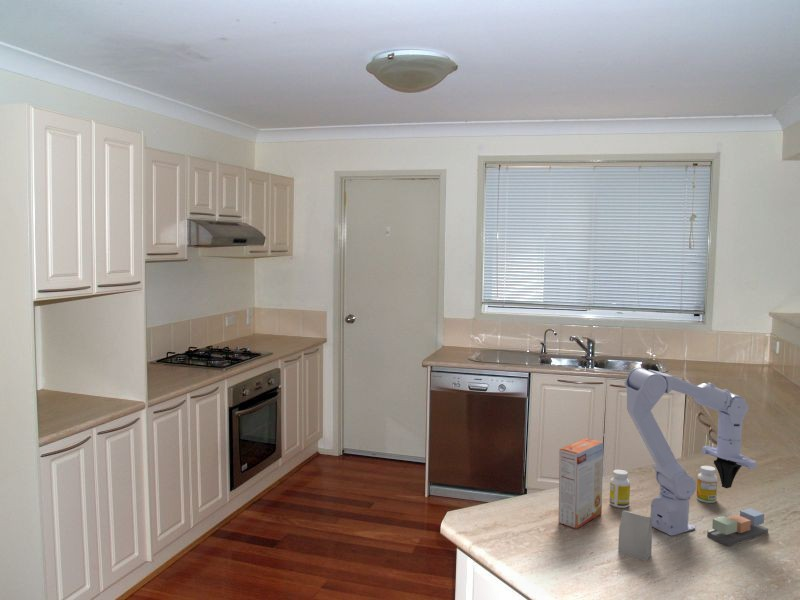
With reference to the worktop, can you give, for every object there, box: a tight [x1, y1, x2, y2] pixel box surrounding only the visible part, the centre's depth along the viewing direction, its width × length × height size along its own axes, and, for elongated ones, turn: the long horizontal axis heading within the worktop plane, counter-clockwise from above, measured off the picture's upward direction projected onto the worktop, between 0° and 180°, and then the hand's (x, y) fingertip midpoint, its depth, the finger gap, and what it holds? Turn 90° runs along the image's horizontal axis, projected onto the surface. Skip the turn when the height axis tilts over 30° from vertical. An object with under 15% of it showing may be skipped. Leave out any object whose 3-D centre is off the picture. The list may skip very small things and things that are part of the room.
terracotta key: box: [726, 514, 751, 533], centre depth 167 cm, size 4×4×3 cm
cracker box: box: [558, 437, 604, 530], centre depth 175 cm, size 14×6×21 cm, turn 135°
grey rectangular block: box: [617, 509, 653, 562], centre depth 157 cm, size 4×7×10 cm, turn 51°
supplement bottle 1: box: [609, 469, 631, 509], centre depth 186 cm, size 5×5×10 cm
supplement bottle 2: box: [696, 465, 719, 504], centre depth 190 cm, size 5×5×10 cm
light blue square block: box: [739, 507, 765, 526], centre depth 170 cm, size 4×4×3 cm
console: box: [706, 524, 769, 547], centre depth 167 cm, size 16×6×2 cm, turn 118°
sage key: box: [711, 515, 737, 535], centre depth 164 cm, size 4×4×3 cm
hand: (726, 487), depth 173 cm, fingers closed
